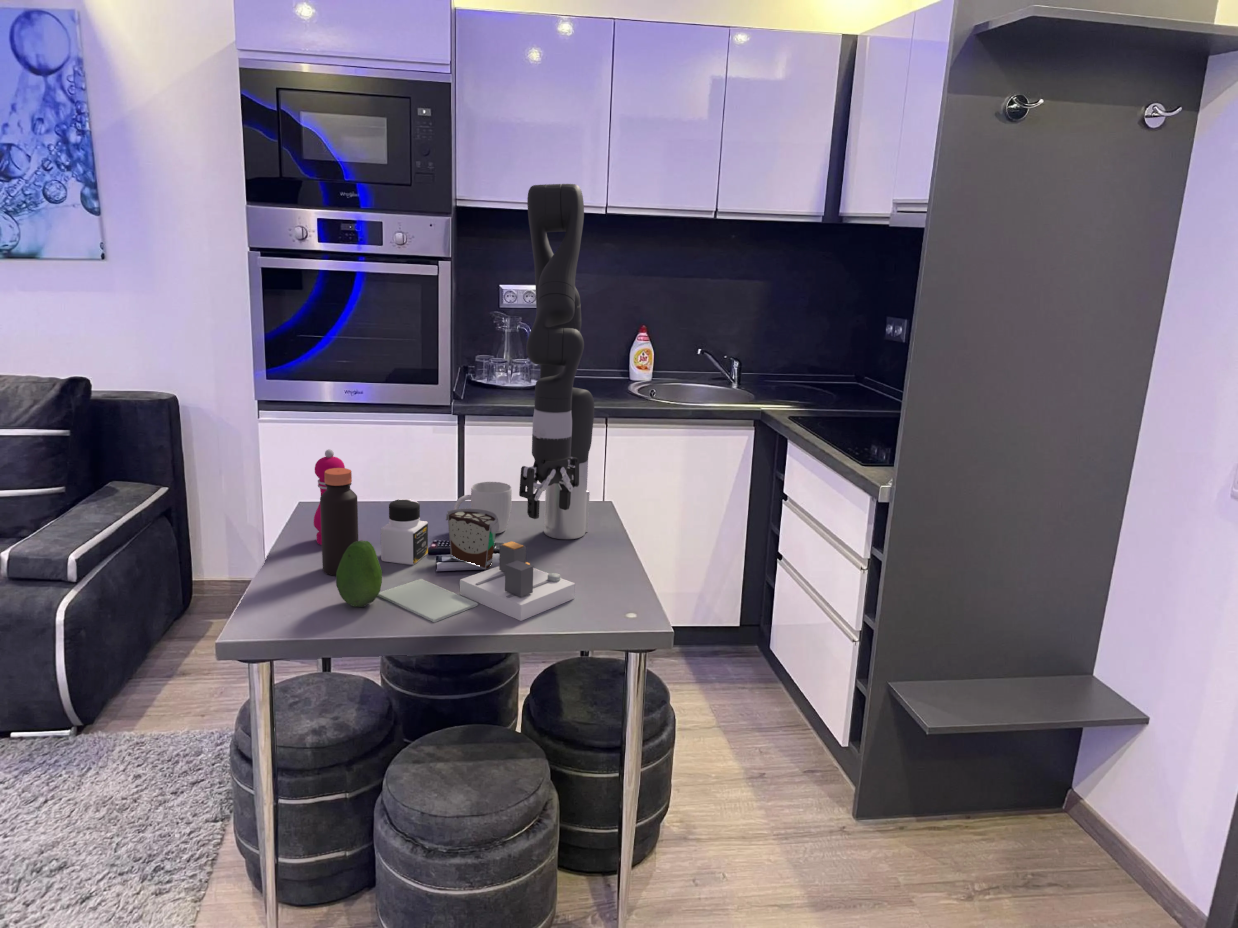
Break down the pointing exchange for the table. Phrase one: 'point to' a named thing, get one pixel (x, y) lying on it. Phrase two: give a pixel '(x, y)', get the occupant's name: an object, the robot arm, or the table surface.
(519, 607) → the panel
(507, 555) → the toggle
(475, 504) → the mug
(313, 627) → the table surface
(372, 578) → the avocado
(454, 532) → the food container
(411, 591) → the pad
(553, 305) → the robot arm
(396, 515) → the medicine bottle
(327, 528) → the vinegar
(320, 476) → the pepper mill
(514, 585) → the toggle
